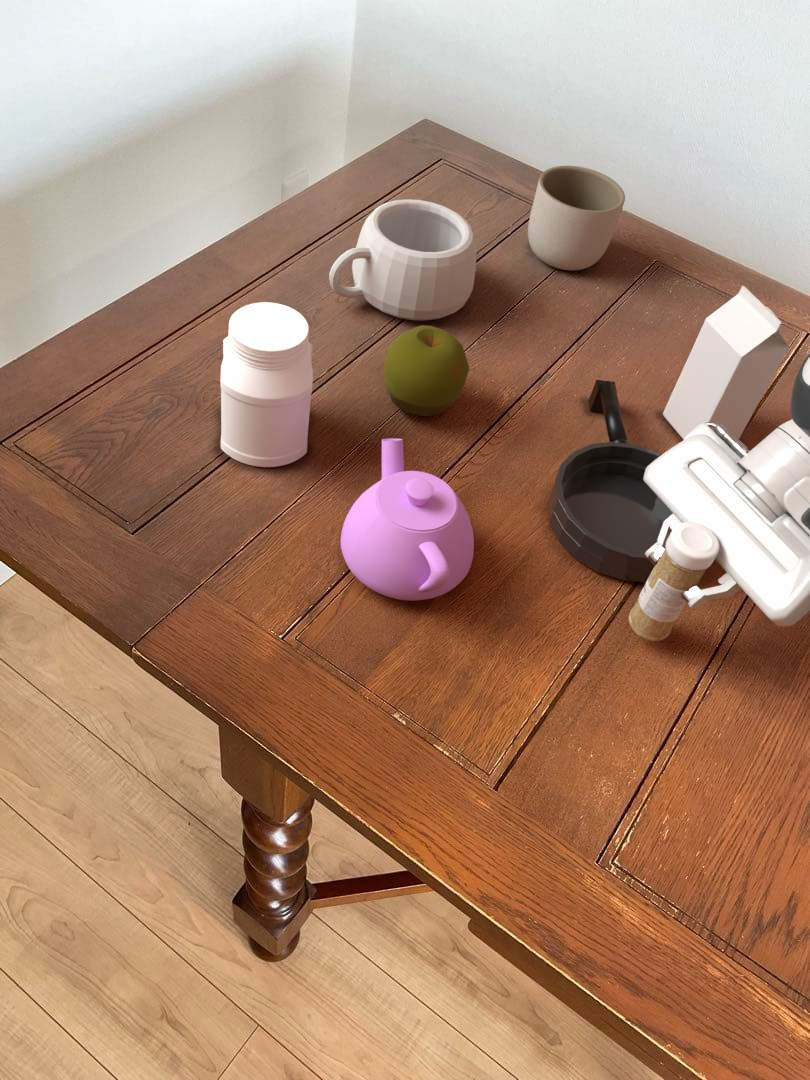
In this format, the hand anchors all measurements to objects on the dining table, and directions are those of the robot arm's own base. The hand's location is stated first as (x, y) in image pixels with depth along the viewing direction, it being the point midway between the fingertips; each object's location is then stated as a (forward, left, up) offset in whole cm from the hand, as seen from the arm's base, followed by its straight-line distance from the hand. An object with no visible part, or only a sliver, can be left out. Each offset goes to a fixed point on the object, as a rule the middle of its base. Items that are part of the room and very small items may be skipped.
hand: (669, 582), depth 93 cm
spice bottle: (-1, 0, -8) cm, 8 cm away
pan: (0, -16, -9) cm, 18 cm away
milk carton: (-13, -34, -9) cm, 37 cm away
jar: (+41, -25, -9) cm, 48 cm away
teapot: (+25, -9, -9) cm, 28 cm away
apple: (+23, -33, -9) cm, 41 cm away
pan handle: (0, -30, -9) cm, 31 cm away
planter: (+1, -70, -9) cm, 70 cm away
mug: (+26, -55, -9) cm, 61 cm away
